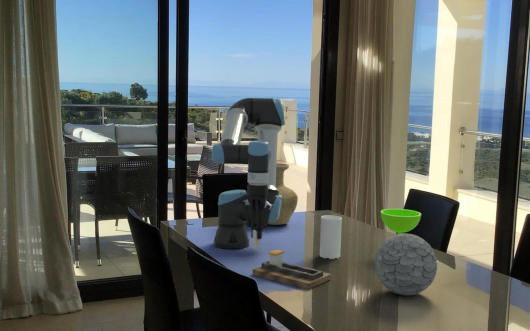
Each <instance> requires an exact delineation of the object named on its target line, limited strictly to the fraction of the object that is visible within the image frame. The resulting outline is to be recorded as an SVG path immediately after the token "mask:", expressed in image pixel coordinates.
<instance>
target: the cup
mask: <svg viewBox="0 0 530 331" xmlns="http://www.w3.org/2000/svg"><path fill="white" fill-rule="evenodd" d="M342 223H343V219H342V216H340V215H333V214H331V215H330V214H327V215H326V214H325V215H322V216H321V217H320V237H319V238H320V239H319V240H320V242H319V257H321V258H322V259H326V258H329V259H328V260H336V259H335V258H337V259H340V258H341V247H342V246H341V244H342V226H343V224H342ZM339 257H340V258H339Z"/></svg>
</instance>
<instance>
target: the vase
mask: <svg viewBox="0 0 530 331" xmlns="http://www.w3.org/2000/svg"><path fill="white" fill-rule="evenodd" d="M289 167H290V165H289V164H287V163H282V162H279V163H278V162H277V164H276V188H277V189H278V190H279V195H282V202H281V209H280V214H279V218H278V220H277V221H276V222H268V226H282V225H286V224H288V223H289V222H290V219H291V217H292V215H293V214H294V213H295V211H296V209H297V206H298V201H299V200H298V199H299V197H298V195H297V193H296V192H295V191H294V189H293V190H292V189H291V188H289V187H287V186H286V185H285V182H284V177H285V174H284V173H285V171H286V170H288V169H289Z"/></svg>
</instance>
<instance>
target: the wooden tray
mask: <svg viewBox="0 0 530 331" xmlns="http://www.w3.org/2000/svg"><path fill="white" fill-rule="evenodd" d="M252 276H256V277H259V278H262V279H268V280H272V281H275V282H278V283H283V284H286V285H291V286H294V287H298V288H303V289H306V290H311V289H313V288H315V287H317V286H319V285H322V284H324V282H325V283H327V282H329V281H331V280H332V274H331V273H329V272H324V271H322V270H318V269H316V268H309V267H306V266H302V265H297V264H291V263H290V262H284V261H282V267H280V266H276V265H272V264H269V260H268V261H265V262H261V266H259V267H255V268H253V269H252ZM328 280H329V281H328ZM326 281H327V282H326Z"/></svg>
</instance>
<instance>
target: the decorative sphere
mask: <svg viewBox="0 0 530 331" xmlns="http://www.w3.org/2000/svg"><path fill="white" fill-rule="evenodd" d="M374 269H375V273H376V275H377V278H378V280H379V281H380V283H381V284H382V285H383V287H385V288H386V289H387V290H389V291H390V292H392V293H394V294H396V295H401V296H414V295H418V294H420V293H422V292H424V291H426V290H427V289H428V288H429V287H430V286H431V284H432V283H433V282H434V280H435V278H436V275H437V272H438V260H437V256H436V254H435V251H434V250H433V248H432V246H431V244H429V243H428V242H427V241H426V240H425V239H424V238H422V237H420V236H418V235H416V234H412V233H407V232H404V233H402V234H397V233H396V234H394V235H391V236H389V237H388V238H387V239H386V240H384V241H383V242H382V243H381V244H380V246H379V247H378V249H377V251H376V254H375V257H374Z"/></svg>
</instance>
